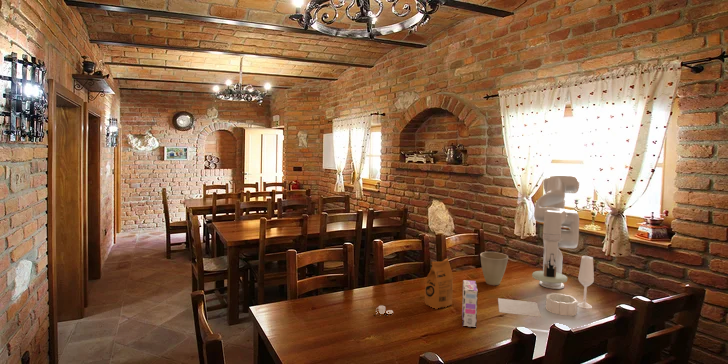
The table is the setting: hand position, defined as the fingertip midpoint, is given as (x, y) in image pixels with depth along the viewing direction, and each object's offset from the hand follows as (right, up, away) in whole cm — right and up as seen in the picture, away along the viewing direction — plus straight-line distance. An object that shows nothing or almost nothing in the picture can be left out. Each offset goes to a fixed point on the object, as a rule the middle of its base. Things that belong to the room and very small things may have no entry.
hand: (549, 275), depth 198 cm
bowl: (+6, -17, +1) cm, 18 cm away
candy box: (-41, -18, -12) cm, 46 cm away
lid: (0, -1, 0) cm, 1 cm away
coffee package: (-51, -16, +7) cm, 54 cm away
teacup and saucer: (-77, -18, -8) cm, 79 cm away
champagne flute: (+20, -17, +7) cm, 27 cm away
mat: (-14, -17, +3) cm, 22 cm away
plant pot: (-15, -13, +39) cm, 43 cm away
